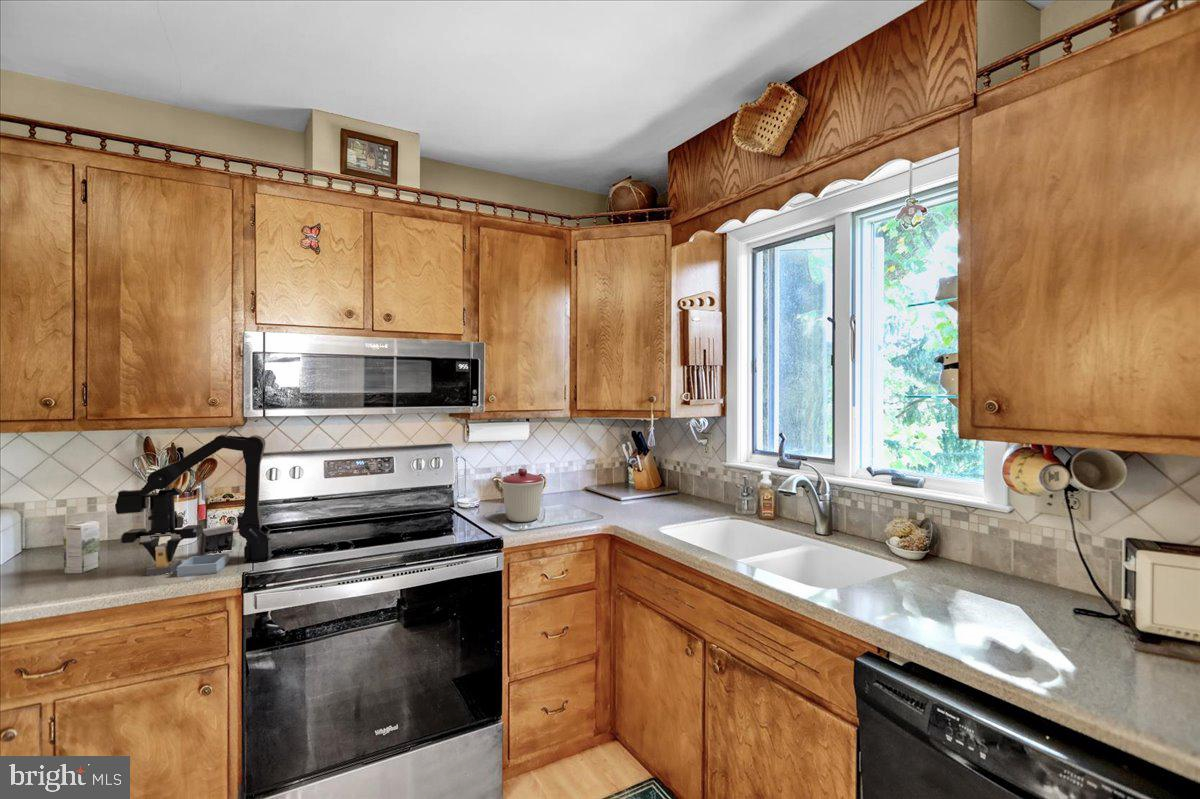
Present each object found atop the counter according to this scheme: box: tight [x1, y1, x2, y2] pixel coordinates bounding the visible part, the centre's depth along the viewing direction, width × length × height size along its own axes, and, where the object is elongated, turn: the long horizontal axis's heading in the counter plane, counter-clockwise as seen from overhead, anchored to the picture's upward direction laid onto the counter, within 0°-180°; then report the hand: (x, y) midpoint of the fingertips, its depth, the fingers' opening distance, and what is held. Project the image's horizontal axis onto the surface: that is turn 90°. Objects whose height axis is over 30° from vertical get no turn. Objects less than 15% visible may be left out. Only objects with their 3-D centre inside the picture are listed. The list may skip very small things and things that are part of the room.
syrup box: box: [62, 520, 101, 574], centre depth 164 cm, size 6×6×14 cm
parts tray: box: [176, 552, 230, 577], centre depth 165 cm, size 10×10×3 cm
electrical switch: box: [197, 523, 234, 556], centre depth 180 cm, size 9×5×9 cm, turn 141°
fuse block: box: [145, 559, 182, 577], centre depth 164 cm, size 6×7×2 cm
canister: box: [500, 468, 546, 523], centre depth 225 cm, size 18×18×21 cm
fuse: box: [155, 542, 173, 567], centre depth 163 cm, size 2×4×8 cm, turn 17°
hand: (164, 561), depth 163 cm, fingers open, 3 cm apart
